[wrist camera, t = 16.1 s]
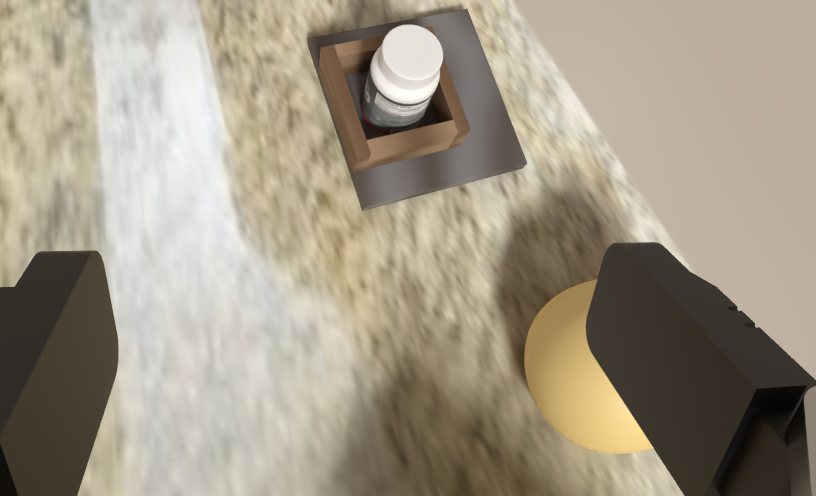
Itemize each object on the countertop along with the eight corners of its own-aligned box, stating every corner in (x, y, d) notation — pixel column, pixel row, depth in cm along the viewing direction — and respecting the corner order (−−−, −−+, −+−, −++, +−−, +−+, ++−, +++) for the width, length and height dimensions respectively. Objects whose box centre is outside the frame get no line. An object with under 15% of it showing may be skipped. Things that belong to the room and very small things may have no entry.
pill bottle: (373, 73, 48) (391, 5, 40) (430, 97, 48) (458, 35, 40) (351, 124, 46) (364, 65, 38) (409, 149, 47) (434, 95, 39)
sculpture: (677, 426, 46) (789, 431, 36) (530, 466, 43) (606, 483, 33) (632, 278, 49) (725, 243, 38) (491, 307, 46) (550, 277, 36)
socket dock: (362, 210, 46) (369, 192, 42) (308, 45, 48) (309, 14, 45) (522, 168, 49) (542, 147, 45) (463, 16, 52) (477, -16, 48)
